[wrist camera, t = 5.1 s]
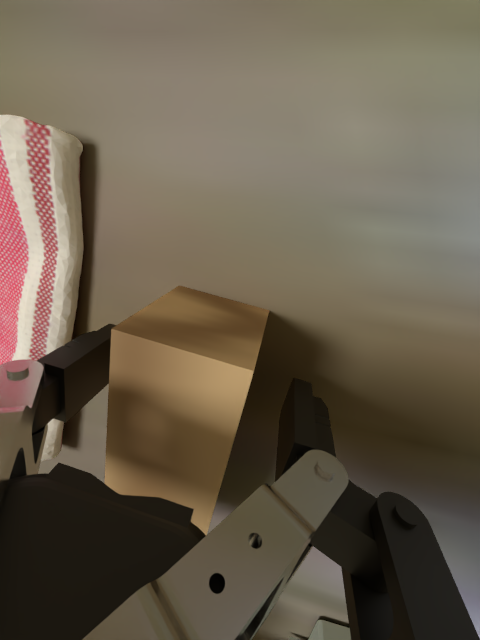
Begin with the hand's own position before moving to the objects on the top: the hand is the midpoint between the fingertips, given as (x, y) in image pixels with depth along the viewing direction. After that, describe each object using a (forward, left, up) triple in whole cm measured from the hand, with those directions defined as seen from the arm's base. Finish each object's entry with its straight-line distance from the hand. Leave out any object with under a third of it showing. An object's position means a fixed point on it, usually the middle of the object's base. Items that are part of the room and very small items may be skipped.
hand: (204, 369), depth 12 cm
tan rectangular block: (0, +3, -1) cm, 3 cm away
